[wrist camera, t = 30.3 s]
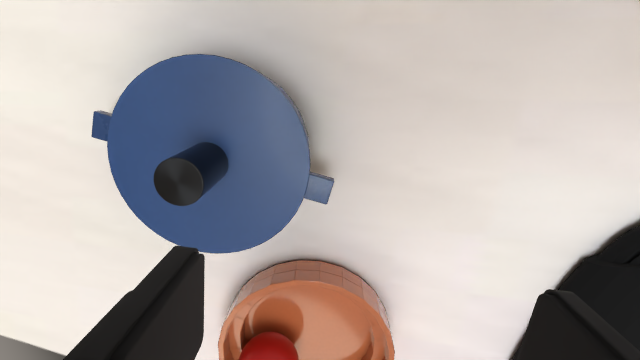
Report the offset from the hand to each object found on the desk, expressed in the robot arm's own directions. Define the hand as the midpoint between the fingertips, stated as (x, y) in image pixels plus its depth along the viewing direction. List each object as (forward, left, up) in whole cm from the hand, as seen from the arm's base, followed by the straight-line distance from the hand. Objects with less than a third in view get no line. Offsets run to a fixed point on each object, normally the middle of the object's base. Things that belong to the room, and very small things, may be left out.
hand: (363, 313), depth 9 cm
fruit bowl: (+23, +3, -26) cm, 35 cm away
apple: (+26, -1, -22) cm, 34 cm away
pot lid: (+4, -11, -21) cm, 24 cm away
